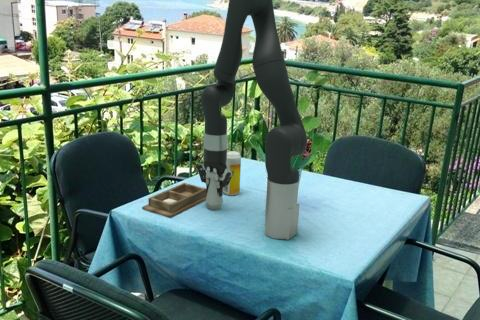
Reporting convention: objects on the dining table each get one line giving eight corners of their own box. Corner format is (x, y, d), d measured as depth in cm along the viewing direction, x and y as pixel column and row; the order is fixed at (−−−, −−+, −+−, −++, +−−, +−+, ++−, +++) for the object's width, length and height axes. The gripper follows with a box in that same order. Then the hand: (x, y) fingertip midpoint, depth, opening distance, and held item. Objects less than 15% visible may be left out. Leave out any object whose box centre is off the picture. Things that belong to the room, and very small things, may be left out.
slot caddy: (212, 197, 182) (212, 187, 181) (170, 218, 163) (170, 208, 162) (185, 189, 188) (185, 180, 187) (142, 209, 169) (141, 199, 168)
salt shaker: (215, 212, 169) (216, 175, 165) (201, 208, 172) (202, 171, 168) (226, 207, 173) (227, 170, 169) (213, 203, 176) (214, 167, 173)
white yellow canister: (242, 192, 187) (244, 153, 183) (233, 197, 182) (235, 156, 178) (228, 188, 190) (230, 150, 186) (219, 193, 185) (220, 153, 181)
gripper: (240, 148, 166) (238, 197, 171) (204, 140, 173) (203, 188, 178) (227, 153, 160) (225, 204, 165) (191, 145, 167) (190, 194, 172)
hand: (214, 196), depth 171 cm, fingers closed on salt shaker, 3 cm apart
